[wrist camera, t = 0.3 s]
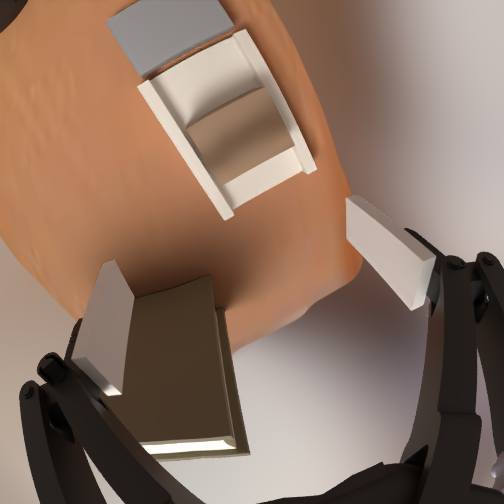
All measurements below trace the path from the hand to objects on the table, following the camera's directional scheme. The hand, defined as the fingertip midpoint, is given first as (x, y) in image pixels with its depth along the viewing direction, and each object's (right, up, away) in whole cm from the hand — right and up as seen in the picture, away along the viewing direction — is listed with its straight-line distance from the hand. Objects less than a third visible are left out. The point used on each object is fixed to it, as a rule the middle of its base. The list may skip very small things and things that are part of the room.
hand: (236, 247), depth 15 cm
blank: (-1, +16, +20) cm, 25 cm away
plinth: (-10, +29, +11) cm, 32 cm away
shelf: (-2, +17, +20) cm, 26 cm away
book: (-16, -11, +34) cm, 39 cm away
